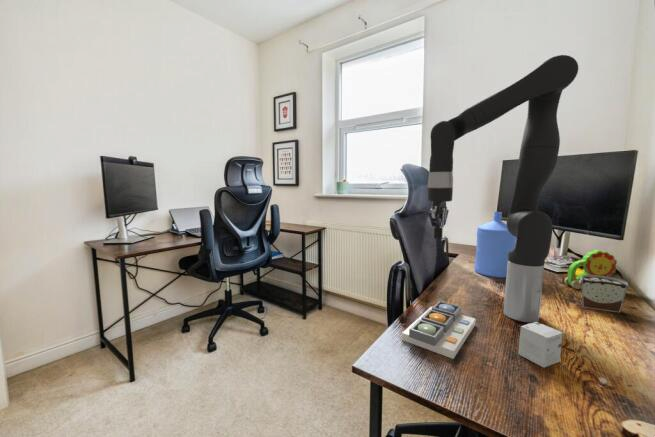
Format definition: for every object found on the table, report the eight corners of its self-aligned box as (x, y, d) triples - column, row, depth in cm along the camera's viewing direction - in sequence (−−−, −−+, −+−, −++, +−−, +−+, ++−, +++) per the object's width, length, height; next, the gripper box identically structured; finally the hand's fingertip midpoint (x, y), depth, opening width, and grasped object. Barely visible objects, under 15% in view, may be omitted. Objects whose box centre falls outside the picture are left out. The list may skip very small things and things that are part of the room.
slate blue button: (456, 313, 87) (456, 306, 87) (451, 318, 84) (452, 311, 84) (441, 308, 90) (441, 302, 90) (436, 313, 87) (436, 307, 87)
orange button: (447, 323, 81) (448, 316, 81) (442, 329, 78) (443, 322, 78) (432, 318, 84) (432, 311, 84) (426, 324, 81) (426, 317, 80)
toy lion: (572, 289, 112) (577, 251, 110) (563, 284, 118) (567, 248, 116) (617, 291, 111) (622, 252, 109) (605, 286, 116) (610, 249, 114)
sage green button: (438, 334, 75) (438, 327, 75) (431, 341, 72) (432, 334, 72) (421, 329, 78) (421, 321, 78) (414, 335, 75) (415, 328, 74)
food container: (616, 305, 98) (620, 277, 97) (626, 313, 92) (630, 283, 91) (570, 299, 103) (574, 272, 102) (577, 306, 97) (580, 277, 96)
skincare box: (544, 368, 65) (547, 338, 64) (517, 354, 71) (520, 325, 70) (560, 362, 68) (563, 332, 67) (533, 348, 73) (535, 320, 72)
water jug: (521, 278, 125) (527, 214, 121) (485, 278, 125) (489, 214, 122) (500, 267, 140) (505, 210, 137) (468, 267, 141) (471, 210, 137)
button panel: (475, 324, 85) (476, 310, 85) (452, 360, 68) (453, 343, 67) (431, 311, 93) (432, 299, 93) (400, 341, 76) (401, 326, 76)
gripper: (446, 186, 86) (443, 243, 89) (458, 186, 97) (455, 237, 99) (421, 186, 91) (419, 241, 93) (435, 185, 101) (433, 234, 103)
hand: (438, 238), depth 96 cm, fingers closed
